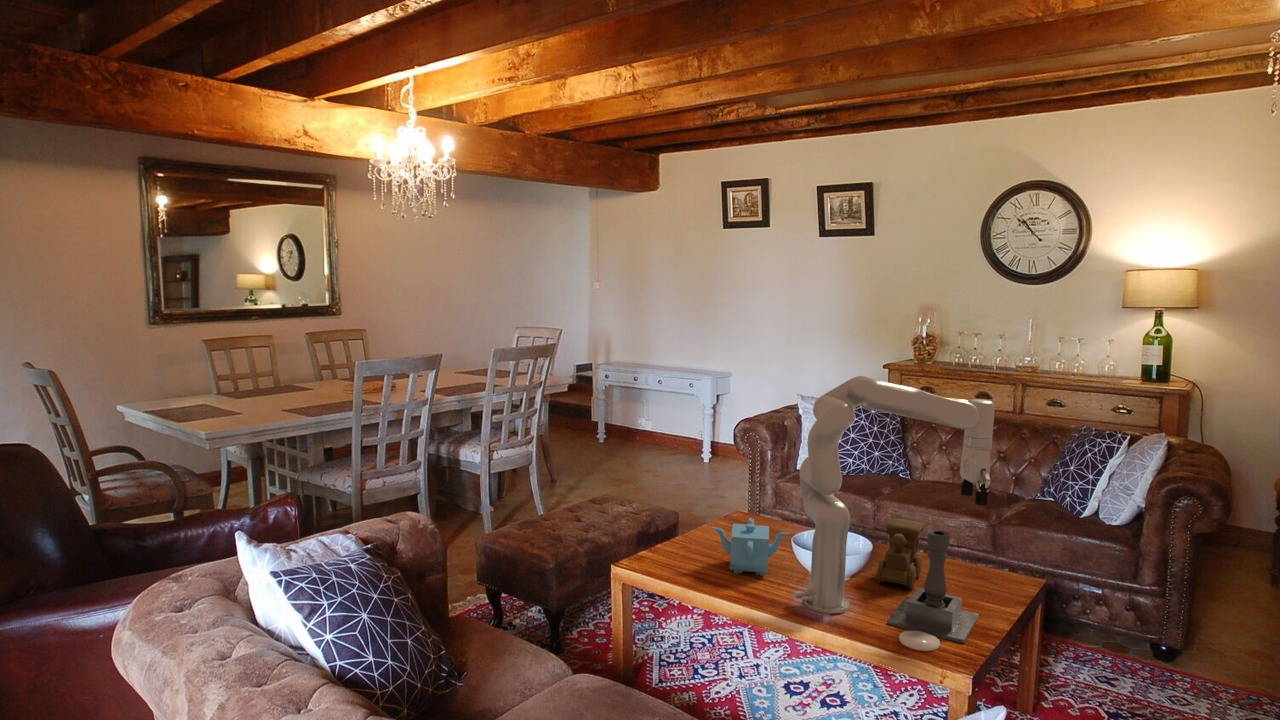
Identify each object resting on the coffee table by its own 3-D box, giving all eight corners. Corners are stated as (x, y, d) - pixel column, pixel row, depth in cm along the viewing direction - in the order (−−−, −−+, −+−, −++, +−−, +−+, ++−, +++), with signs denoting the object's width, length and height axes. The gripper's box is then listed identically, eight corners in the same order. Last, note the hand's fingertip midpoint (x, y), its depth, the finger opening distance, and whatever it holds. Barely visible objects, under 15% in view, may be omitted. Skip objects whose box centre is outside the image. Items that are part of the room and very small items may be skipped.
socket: (964, 643, 205) (965, 621, 204) (886, 623, 216) (887, 602, 215) (978, 617, 221) (980, 596, 221) (906, 600, 232) (907, 580, 232)
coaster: (910, 652, 200) (910, 649, 200) (892, 634, 209) (892, 631, 209) (947, 650, 201) (947, 647, 201) (927, 632, 211) (927, 629, 211)
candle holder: (930, 626, 215) (936, 537, 212) (917, 616, 221) (922, 530, 218) (950, 624, 217) (955, 535, 214) (936, 614, 222) (941, 528, 220)
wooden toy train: (887, 565, 260) (890, 517, 259) (923, 572, 255) (926, 522, 253) (874, 586, 243) (876, 533, 241) (912, 593, 237) (915, 540, 236)
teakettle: (748, 584, 242) (750, 537, 241) (708, 565, 257) (709, 521, 256) (790, 571, 254) (792, 527, 252) (749, 554, 268) (751, 512, 267)
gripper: (952, 436, 236) (949, 491, 238) (977, 448, 219) (973, 508, 221) (977, 436, 236) (973, 492, 238) (1004, 449, 219) (1000, 509, 221)
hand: (973, 500), depth 230 cm, fingers open, 9 cm apart
